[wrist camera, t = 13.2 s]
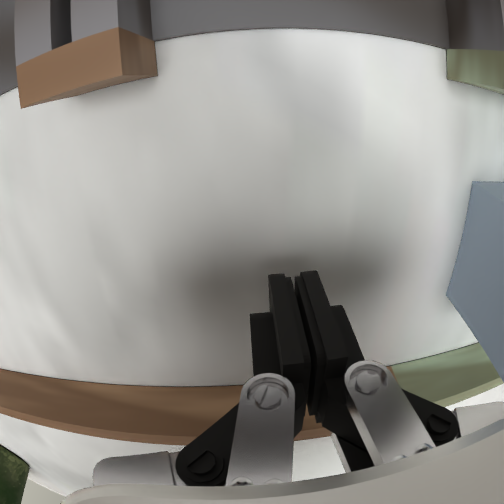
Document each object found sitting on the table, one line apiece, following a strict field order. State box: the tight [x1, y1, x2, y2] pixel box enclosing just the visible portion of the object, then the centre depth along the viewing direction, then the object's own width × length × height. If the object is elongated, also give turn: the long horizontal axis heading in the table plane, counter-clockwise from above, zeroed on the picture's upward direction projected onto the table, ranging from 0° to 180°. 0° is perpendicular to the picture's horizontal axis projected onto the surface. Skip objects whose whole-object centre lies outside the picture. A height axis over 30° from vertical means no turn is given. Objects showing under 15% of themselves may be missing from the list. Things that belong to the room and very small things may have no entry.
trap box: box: [0, 0, 504, 445], centre depth 9 cm, size 24×39×3 cm, turn 94°
